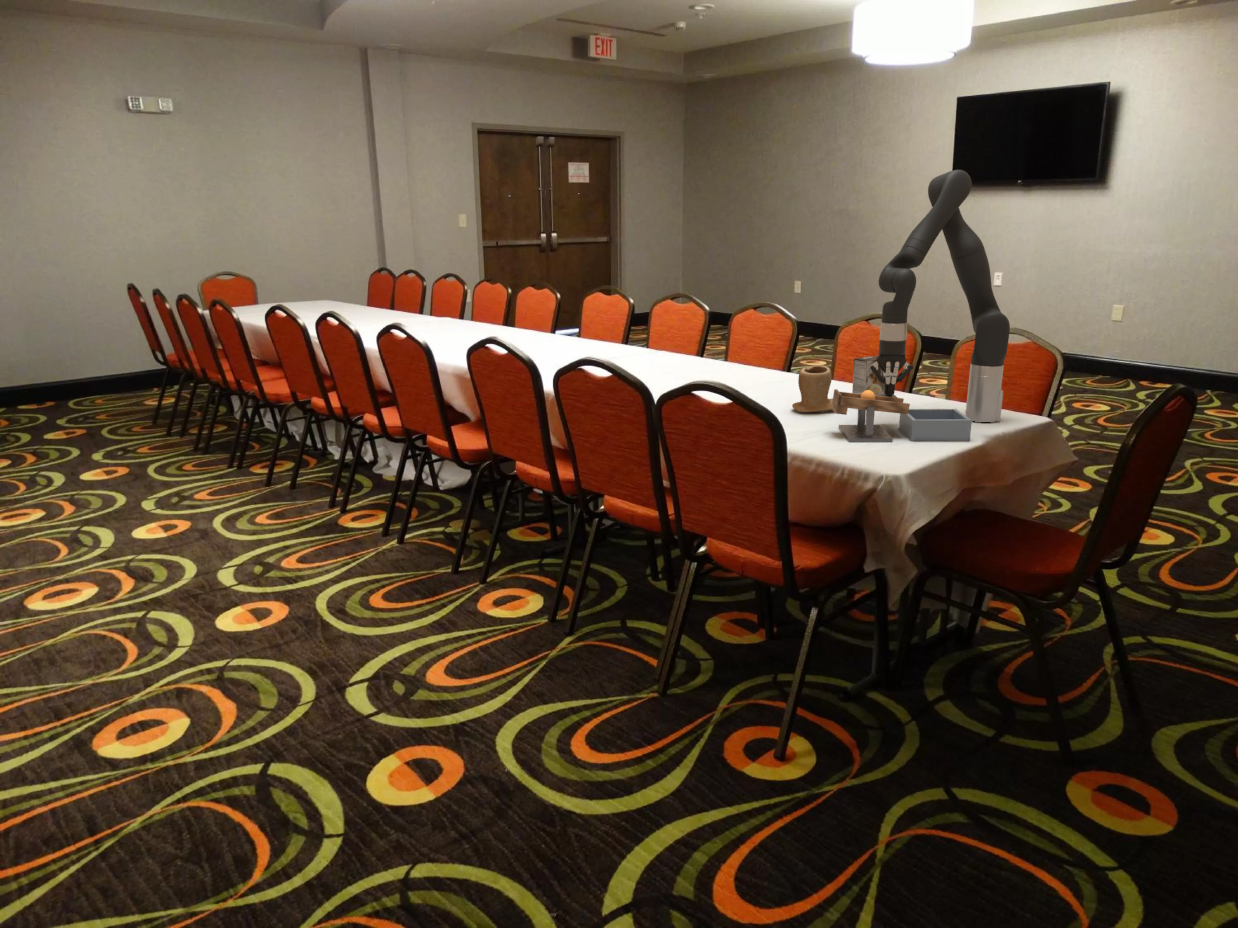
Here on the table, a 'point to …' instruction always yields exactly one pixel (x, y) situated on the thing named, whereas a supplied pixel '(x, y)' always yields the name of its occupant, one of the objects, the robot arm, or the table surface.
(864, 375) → the coffee box
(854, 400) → the chute
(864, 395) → the ball
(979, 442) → the table surface
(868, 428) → the stand
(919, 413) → the bin
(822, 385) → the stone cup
